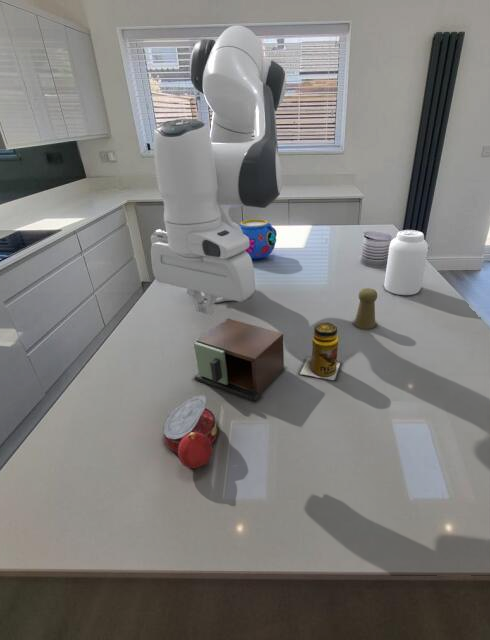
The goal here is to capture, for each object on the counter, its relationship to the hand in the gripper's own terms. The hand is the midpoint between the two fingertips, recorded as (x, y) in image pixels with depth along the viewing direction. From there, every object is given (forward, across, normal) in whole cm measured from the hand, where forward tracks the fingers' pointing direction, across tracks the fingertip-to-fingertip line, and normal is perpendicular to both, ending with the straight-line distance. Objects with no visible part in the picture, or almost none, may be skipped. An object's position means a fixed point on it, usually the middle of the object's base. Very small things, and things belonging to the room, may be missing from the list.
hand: (206, 311), depth 68 cm
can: (+23, +1, +103) cm, 106 cm away
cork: (+23, +15, +50) cm, 57 cm away
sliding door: (+22, -6, +5) cm, 23 cm away
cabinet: (+23, -3, +13) cm, 27 cm away
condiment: (+23, +13, +23) cm, 35 cm away
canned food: (+23, 0, -9) cm, 25 cm away
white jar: (+23, +18, +81) cm, 86 cm away
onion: (+23, +6, -14) cm, 28 cm away
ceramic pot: (+23, -47, +86) cm, 101 cm away
